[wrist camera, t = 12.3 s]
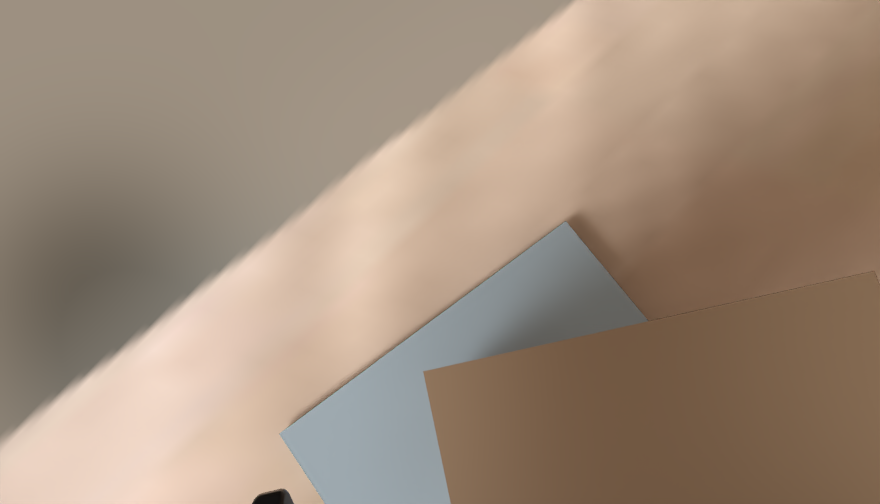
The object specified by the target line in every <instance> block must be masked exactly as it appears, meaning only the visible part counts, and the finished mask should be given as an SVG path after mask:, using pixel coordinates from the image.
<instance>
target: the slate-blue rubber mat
mask: <svg viewBox="0 0 880 504" xmlns="http://www.w3.org/2000/svg"><path fill="white" fill-rule="evenodd" d="M647 321H648V320H647V319H646V317H645V316H644V315H643V314H642V313H641V311H640V310H639V309H638V308H637V307H636V305H635V304H634V303H633V302H632V301H631V299H630V298H629V297H628V296H627V294H626V293H625V292H624V291H623V290H622V288H621V287H620V286H619V285H618V284H617V282H616V281H615V280H614V279H613V278H612V276H611V275H610V274H609V273H608V272H607V270H606V269H605V268H604V267H603V265H602V264H601V263H600V262H599V261H598V259H597V258H596V257H595V256H594V255H593V253H592V252H591V251H590V250H589V249H588V247H587V246H586V245H585V244H584V243H583V241H582V240H581V239H580V238H579V236H578V235H577V234H576V233H575V232H574V230H573V229H572V228H571V227H570V226H569V224H568V223H567V222H566V221H565V222H564V223H562V224H561V225H560V226H558V227H557V228H556V229H554V230H553V231H552V232H550V233H549V234H548V235H546V236H545V237H543V238H542V239H541V240H539V241H538V242H537V243H535V244H534V245H533V246H531V247H530V248H529V249H527V250H526V251H525V252H523V253H522V254H521V255H519V256H518V257H517V258H515V259H514V260H513V261H511V262H510V263H508V264H507V265H506V266H504V267H503V268H502V269H500V270H499V271H498V272H496V273H495V274H494V275H492V276H491V277H490V278H488V279H487V280H486V281H484V282H483V283H482V284H480V285H479V286H478V287H476V288H475V289H474V290H472V291H471V292H469V293H468V294H467V295H465V296H464V297H463V298H461V299H460V300H459V301H457V302H456V303H455V304H453V305H452V306H451V307H449V308H448V309H447V310H445V311H444V312H443V313H441V314H440V315H439V316H437V317H436V318H434V319H433V320H432V321H430V322H429V323H428V324H426V325H425V326H424V327H422V328H421V329H420V330H418V331H417V332H416V333H414V334H413V335H412V336H410V337H409V338H408V339H406V340H405V341H404V342H402V343H401V344H400V345H398V346H397V347H395V348H394V349H393V350H391V351H390V352H389V353H387V354H386V355H385V356H383V357H382V358H381V359H379V360H378V361H377V362H375V363H374V364H373V365H371V366H370V367H369V368H367V369H366V370H365V371H363V372H362V373H360V374H359V375H358V376H356V377H355V378H354V379H352V380H351V381H350V382H348V383H347V384H346V385H344V386H343V387H342V388H340V389H339V390H338V391H336V392H335V393H334V394H332V395H331V396H330V397H328V398H327V399H326V400H324V401H323V402H321V403H320V404H319V405H317V406H316V407H315V408H313V409H312V410H311V411H309V412H308V413H307V414H305V415H304V416H303V417H301V418H300V419H299V420H297V421H296V422H295V423H293V424H292V425H291V426H289V427H288V428H286V429H285V430H284V431H282V432H281V433H280V436H281V437H282V439H283V440H284V442H285V443H286V445H287V446H288V448H289V449H290V451H291V453H292V454H293V456H294V457H295V459H296V460H297V462H298V463H299V465H300V466H301V468H302V469H303V471H304V472H305V474H306V475H307V477H308V478H309V480H310V481H311V483H312V484H313V486H314V488H315V489H316V491H317V492H318V494H319V495H320V497H321V498H322V500H323V501H324V503H325V504H451V502H450V498H449V493H448V488H447V483H446V478H445V474H444V469H443V464H442V459H441V455H440V450H439V445H438V440H437V435H436V431H435V426H434V421H433V416H432V411H431V407H430V402H429V397H428V392H427V388H426V383H425V378H424V373H423V371H427V370H432V369H436V368H441V367H445V366H450V365H454V364H459V363H463V362H468V361H472V360H477V359H481V358H486V357H490V356H495V355H499V354H504V353H508V352H513V351H517V350H522V349H526V348H530V347H535V346H539V345H544V344H548V343H553V342H557V341H562V340H566V339H571V338H575V337H580V336H584V335H589V334H593V333H598V332H602V331H607V330H611V329H616V328H620V327H625V326H629V325H634V324H638V323H643V322H647Z"/></svg>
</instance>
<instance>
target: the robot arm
mask: <svg viewBox="0 0 880 504" xmlns="http://www.w3.org/2000/svg"><path fill="white" fill-rule="evenodd" d="M252 504H294V503H293V501H292V499H291V496H290V494H289V493H288V491H287V490H285V489H278V490H274V491H269V492H265V493H262V494H259V495H258V496H257V497H256V498H255V499H254V501H253V503H252Z"/></svg>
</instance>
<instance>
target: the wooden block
mask: <svg viewBox="0 0 880 504" xmlns="http://www.w3.org/2000/svg"><path fill="white" fill-rule="evenodd" d="M423 373H424V378H425V383H426V388H427V392H428V397H429V402H430V407H431V411H432V416H433V421H434V426H435V431H436V435H437V440H438V445H439V450H440V455H441V459H442V464H443V469H444V474H445V478H446V483H447V488H448V493H449V498H450V502H451V504H880V284H879V282H878V279H877V276H876V274H875V271H872V272H867V273H863V274H858V275H854V276H849V277H845V278H840V279H836V280H831V281H827V282H822V283H818V284H813V285H809V286H804V287H800V288H795V289H791V290H786V291H782V292H777V293H773V294H769V295H764V296H760V297H755V298H751V299H746V300H742V301H737V302H733V303H728V304H724V305H719V306H715V307H710V308H706V309H701V310H697V311H692V312H688V313H683V314H679V315H674V316H670V317H665V318H661V319H656V320H652V321H647V322H643V323H638V324H634V325H629V326H625V327H620V328H616V329H611V330H607V331H602V332H598V333H593V334H589V335H584V336H580V337H575V338H571V339H566V340H562V341H557V342H553V343H548V344H544V345H539V346H535V347H530V348H526V349H522V350H517V351H513V352H508V353H504V354H499V355H495V356H490V357H486V358H481V359H477V360H472V361H468V362H463V363H459V364H454V365H450V366H445V367H441V368H436V369H432V370H427V371H423Z"/></svg>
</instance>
